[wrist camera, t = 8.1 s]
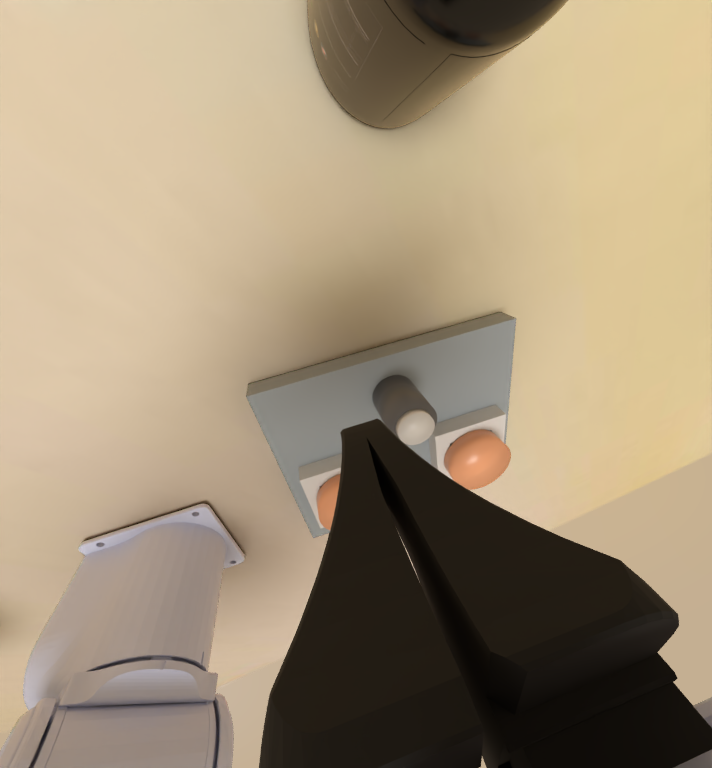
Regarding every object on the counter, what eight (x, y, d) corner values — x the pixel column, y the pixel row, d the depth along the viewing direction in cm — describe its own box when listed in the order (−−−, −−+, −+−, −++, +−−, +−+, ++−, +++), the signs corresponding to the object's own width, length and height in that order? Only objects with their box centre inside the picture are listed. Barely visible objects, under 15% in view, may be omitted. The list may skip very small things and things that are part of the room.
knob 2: (429, 457, 27) (454, 496, 23) (425, 417, 24) (452, 453, 20) (476, 441, 27) (508, 477, 23) (477, 400, 25) (513, 433, 21)
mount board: (311, 522, 27) (314, 552, 25) (248, 384, 19) (244, 408, 17) (492, 461, 29) (512, 483, 26) (500, 311, 21) (530, 324, 19)
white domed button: (376, 418, 21) (395, 456, 18) (368, 382, 20) (388, 417, 16) (416, 405, 21) (442, 441, 18) (411, 369, 20) (440, 401, 16)
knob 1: (320, 493, 26) (327, 540, 22) (305, 454, 23) (310, 500, 20) (371, 476, 26) (387, 519, 22) (361, 437, 24) (377, 478, 20)
